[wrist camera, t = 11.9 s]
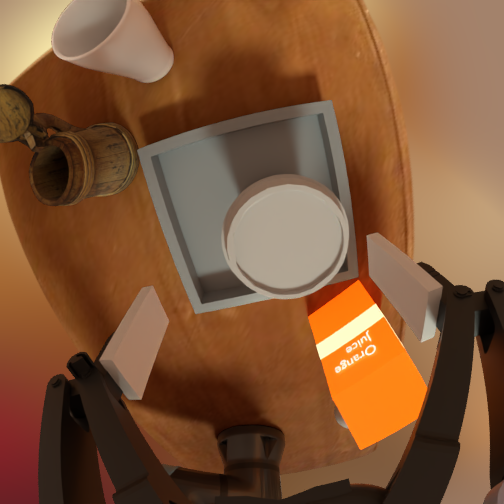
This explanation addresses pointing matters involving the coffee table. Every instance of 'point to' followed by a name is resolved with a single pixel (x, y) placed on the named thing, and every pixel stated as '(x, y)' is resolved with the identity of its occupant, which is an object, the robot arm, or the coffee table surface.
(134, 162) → the wooden mug
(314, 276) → the disposable coffee cup
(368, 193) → the coffee table surface
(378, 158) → the coffee table surface
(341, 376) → the orange juice
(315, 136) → the tray
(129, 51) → the drinking glass
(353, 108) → the coffee table surface
